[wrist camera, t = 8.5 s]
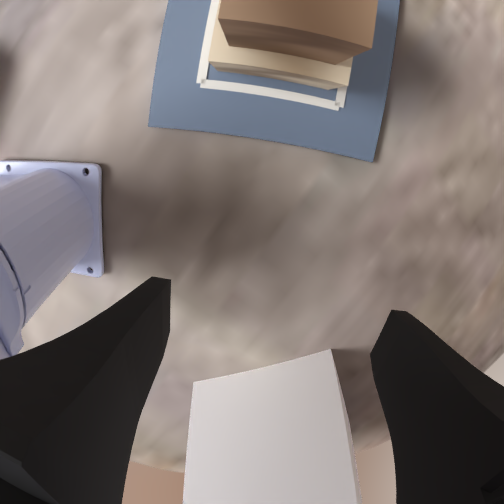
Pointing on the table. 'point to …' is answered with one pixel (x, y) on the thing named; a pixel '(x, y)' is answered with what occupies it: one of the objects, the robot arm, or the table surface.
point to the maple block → (275, 64)
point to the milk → (272, 437)
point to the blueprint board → (268, 89)
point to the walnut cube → (301, 27)
